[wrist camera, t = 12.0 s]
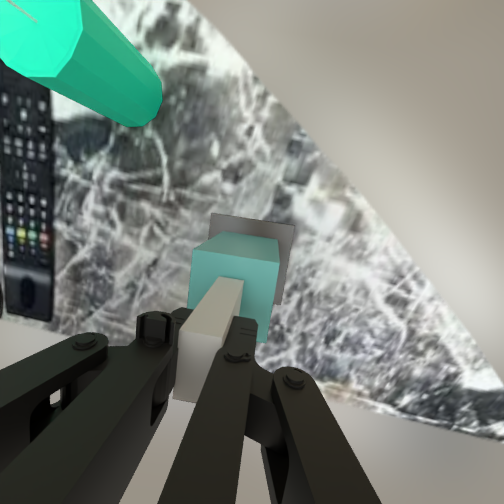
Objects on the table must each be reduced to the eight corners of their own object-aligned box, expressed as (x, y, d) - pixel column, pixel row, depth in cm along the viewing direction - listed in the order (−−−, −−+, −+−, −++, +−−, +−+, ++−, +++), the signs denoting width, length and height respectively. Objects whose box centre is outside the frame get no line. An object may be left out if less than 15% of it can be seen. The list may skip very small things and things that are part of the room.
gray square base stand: (203, 290, 28) (165, 339, 18) (212, 213, 26) (175, 220, 16) (280, 302, 27) (283, 360, 17) (294, 225, 26) (306, 240, 16)
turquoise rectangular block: (216, 283, 26) (184, 328, 17) (223, 231, 25) (193, 249, 16) (269, 291, 26) (266, 343, 17) (277, 239, 25) (279, 263, 16)
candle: (90, 69, 24) (-80, -52, 13) (150, 46, 24) (27, -106, 12) (114, 136, 25) (-25, 80, 14) (171, 116, 25) (78, 38, 13)
